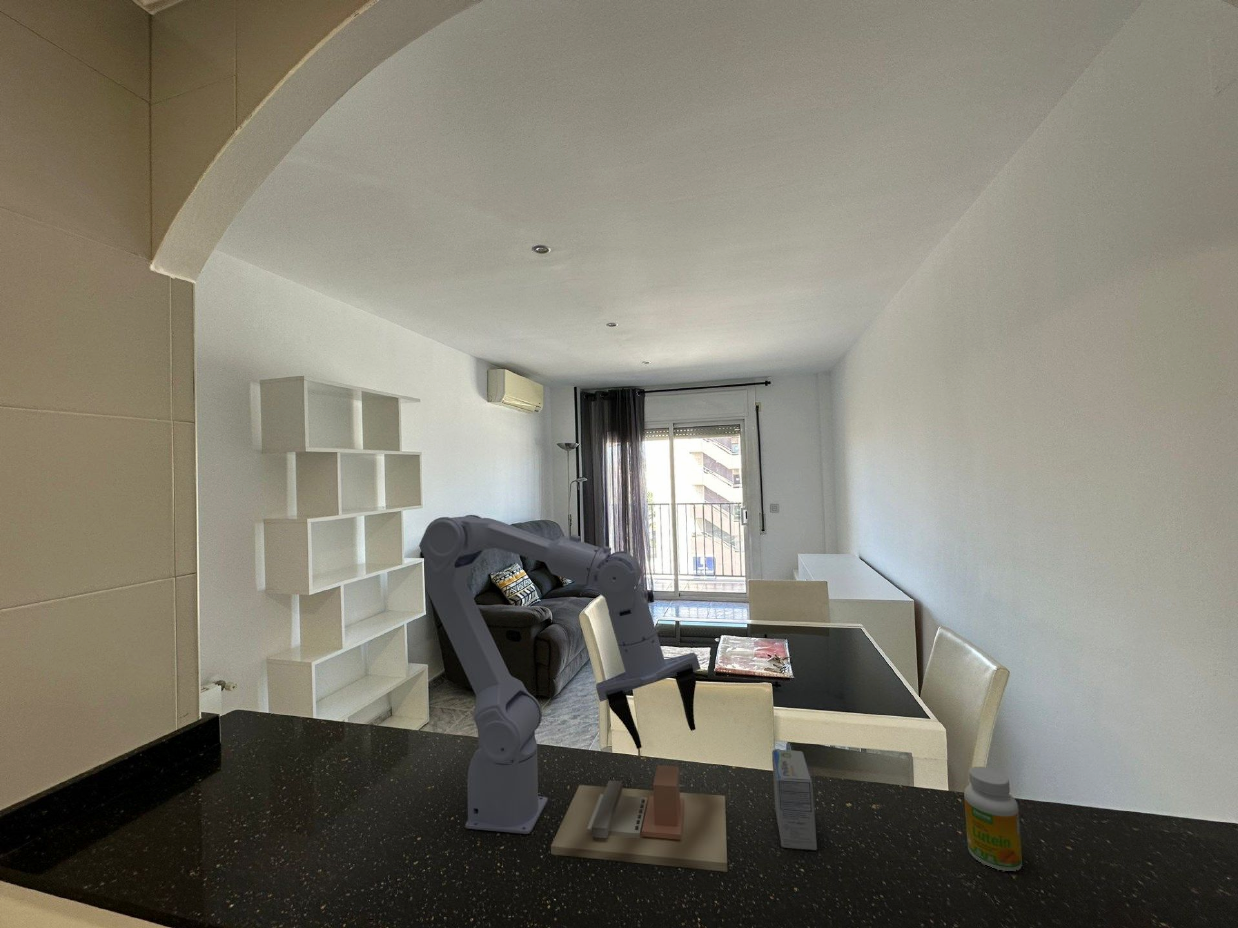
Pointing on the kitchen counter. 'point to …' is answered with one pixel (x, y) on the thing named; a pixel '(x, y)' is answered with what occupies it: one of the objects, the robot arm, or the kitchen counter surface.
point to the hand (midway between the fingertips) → (665, 736)
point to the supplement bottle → (992, 820)
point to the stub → (664, 805)
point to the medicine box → (794, 800)
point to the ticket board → (615, 825)
